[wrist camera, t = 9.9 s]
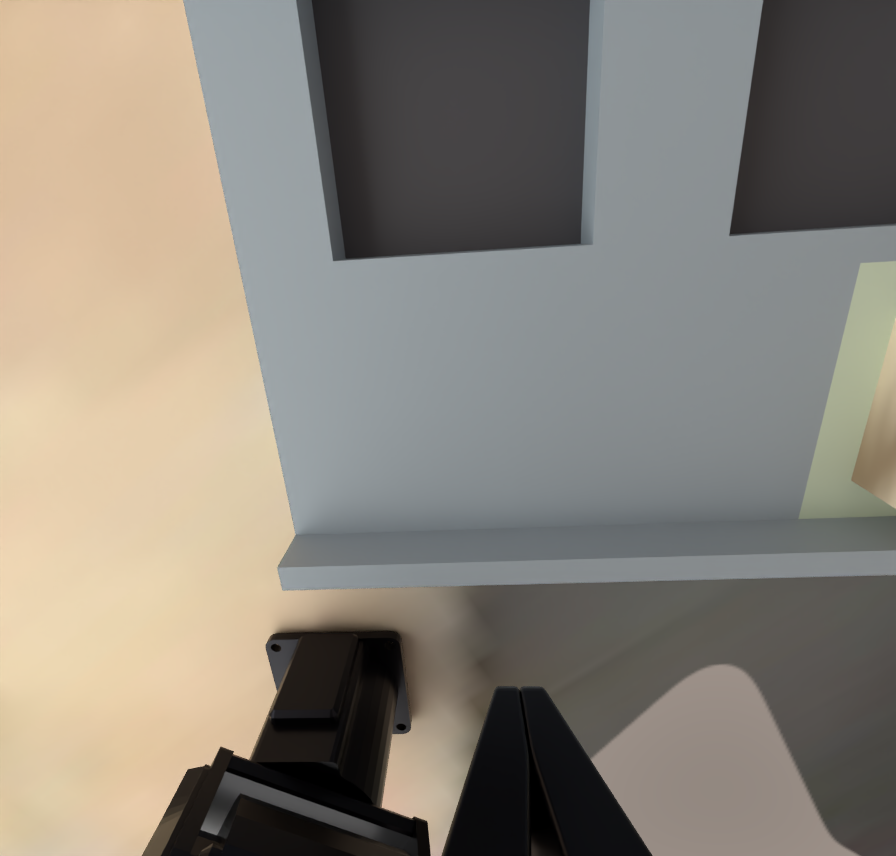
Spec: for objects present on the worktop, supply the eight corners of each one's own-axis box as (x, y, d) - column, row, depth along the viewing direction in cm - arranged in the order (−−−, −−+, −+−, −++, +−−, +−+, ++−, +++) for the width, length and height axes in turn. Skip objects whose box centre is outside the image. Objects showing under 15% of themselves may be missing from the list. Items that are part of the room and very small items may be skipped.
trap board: (991, 505, 20) (1154, 590, 15) (314, 527, 21) (272, 610, 16) (1274, -181, 12) (1772, -437, 8) (200, -70, 14) (64, -225, 9)
